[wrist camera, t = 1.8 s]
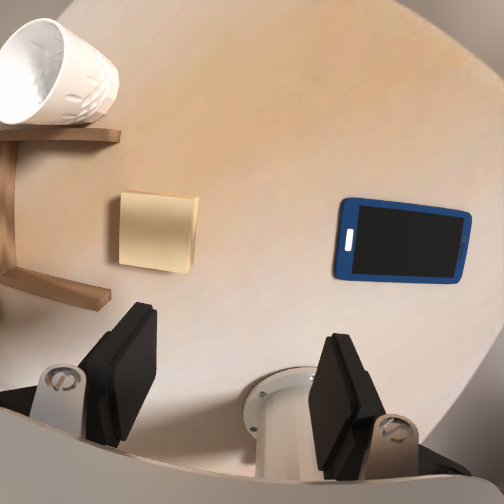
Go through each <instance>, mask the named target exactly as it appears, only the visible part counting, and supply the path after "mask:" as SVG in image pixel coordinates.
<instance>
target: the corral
mask: <svg viewBox="0 0 504 504" xmlns="http://www.w3.org/2000/svg"><path fill="white" fill-rule="evenodd" d="M120 134H121V131H117V130H111V129H100V128H49V129H22V130H5V131H0V284H3V285H6V286H9V287H12V288H16V289H19V290H22V291H25V292H28V293H32V294H35V295H38V296H42V297H45V298H49V299H52V300H56V301H59V302H63V303H66V304H70V305H74V306H78V307H81V308H85V309H89V310H93V311H97V312H98V311H99V310H100V309H101V308H102V307H103V306H104V305H105V304H106V303H107V302H108V301H109V300H111V290H110V289H105V288H101V287H96V286H92V285H87V284H83V283H79V282H74V281H70V280H66V279H62V278H58V277H54V276H50V275H46V274H42V273H38V272H34V271H30V270H27V269H23V268H19V267H17V265H16V251H15V231H14V188H15V167H16V154H17V143H18V141H25V140H74V141H105V142H119V141H120Z"/></svg>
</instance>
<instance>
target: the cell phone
mask: <svg viewBox="0 0 504 504" xmlns="http://www.w3.org/2000/svg"><path fill="white" fill-rule="evenodd" d="M471 225H472V216H471V215H470V213H468V212H464V211H460V210H454V209H447V208H440V207H433V206H425V205H418V204H410V203H401V202H393V201H384V200H375V199H365V198H345V199H344V200H343V202H342V205H341V211H340V221H339V230H338V240H337V248H336V257H335V265H334V274H335V276H336V277H337V278H338V279H343V280H350V281H374V282H401V283H432V284H456V283H458V282H459V281H460V279H461V277H462V274H463V269H464V264H465V259H466V254H467V249H468V243H469V238H470V231H471Z"/></svg>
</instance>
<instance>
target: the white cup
mask: <svg viewBox="0 0 504 504" xmlns="http://www.w3.org/2000/svg"><path fill="white" fill-rule="evenodd" d="M119 85H120V84H119V77H118V71H117V69H116V68H115V66H114V65H113V64H112V63H111V61H110V60H109V59H107V58H106V57H104V56H103V55H102V54H101V53H100V52H99V51H97V50H96V49H95V48H93V47H92V46H91V45H90V44H88V43H87V42H86V41H84V40H83V39H81V38H80V37H78V36H77V35H75V34H74V33H72V32H71V31H69V30H68V29H66V28H65V27H63V26H62V25H60V24H59V23H58V22H56V21H54V20H51V19H46V18H43V19H37V20H34V21H31V22H29V23H27V24H25V25H24V26H22V27H21V28H20V29H18V30H17V31H16V32H15V33H14V34H13V35H12V36H11V37H10V38H9V39H8V40H7V42H6V43H5V44H4V46H3V47H2V49H1V50H0V121H1V122H3V123H5V124H11V125H12V124H36V125H69V124H78V125H80V124H86V123H92V122H94V121H96V120H97V119H99V118H100V117H102V116H103V115H105V114H106V113H107V111H108V110H109V108H110V107H111V106H112V104H113V103H114V101H115V100H116V96H117V92H118V88H119Z"/></svg>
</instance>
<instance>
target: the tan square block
mask: <svg viewBox="0 0 504 504" xmlns="http://www.w3.org/2000/svg"><path fill="white" fill-rule="evenodd" d="M198 204H199V196H197V195H188V194H178V193H168V192H157V191H146V190H135V189H133V190H129V191H125V192H121V204H120V230H119V264H125V265H131V266H138V267H144V268H151V269H158V270H164V271H171V272H178V273H185V274H187V272H188V271H189V269H190V268H191V267H192V265H193V264H194V250H195V238H196V226H197V215H198Z"/></svg>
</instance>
